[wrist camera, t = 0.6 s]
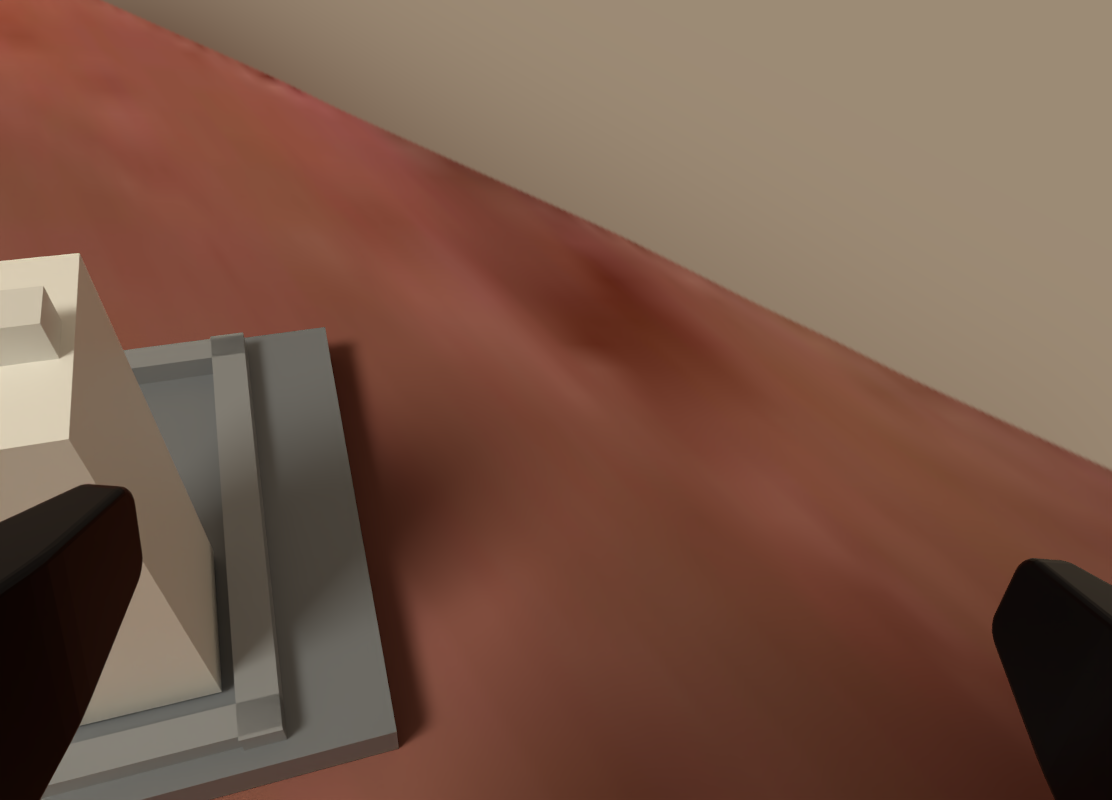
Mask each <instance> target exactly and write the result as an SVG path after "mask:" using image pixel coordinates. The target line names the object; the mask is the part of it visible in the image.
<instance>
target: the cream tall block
mask: <svg viewBox="0 0 1112 800" xmlns="http://www.w3.org/2000/svg"><path fill="white" fill-rule="evenodd" d="M82 484H98V485H110V486H122V487H125V488H127V489H128V490H129V491H130V492H131V493H132V495H133V498H134V501H135V507H136V514H137V520H138V527H139V534H140V541H141V548H142V557H143V559H142V570H141V575H140V578H139V581H138V584H137V586H136V589H135V591H134V594H133V596H132V599H131V601H130V604H129V606H128V609H127V611H126V614H125V616H124V619H123V621H122V624H121V626H120V629H119V631H118V634H117V636H116V639H115V641H114V644H113V646H112V649H111V651H110V654H109V656H108V659H107V661H106V664H105V666H104V669H103V671H102V674H101V676H100V679H99V681H98V684H97V686H96V689H95V691H94V694H93V696H92V699H91V701H90V703H89V705H88V708H87V710H86V712H85V715H84V717H83V719H82V722H81V724H80V726H81V725H85V724H90V723H94V722H98V721H102V720H106V719H110V718H115V717H119V716H123V715H127V714H131V713H135V712H140V711H144V710H148V709H152V708H156V707H160V706H165V705H169V704H173V703H177V702H181V701H186V700H190V699H194V698H198V697H202V696H206V695H211V694H215V693H219V692H222V687H221V670H220V653H219V636H218V620H217V603H216V586H215V570H214V553H213V549H212V547H211V545H210V542H209V540H208V538H207V536H206V534H205V531H204V529H203V527H202V525H201V522H200V520H199V518H198V516H197V514H196V511H195V509H194V507H193V505H192V502H191V500H190V498H189V496H188V494H187V491H186V489H185V487H184V485H183V482H182V480H181V478H180V476H179V473H178V471H177V469H176V467H175V465H174V462H173V460H172V458H171V456H170V453H169V451H168V449H167V447H166V445H165V442H164V440H163V438H162V436H161V433H160V431H159V429H158V427H157V424H156V422H155V420H154V418H153V416H152V413H151V411H150V409H149V407H148V404H147V402H146V400H145V398H144V396H143V393H142V391H141V389H140V387H139V384H138V382H137V380H136V378H135V375H134V373H133V371H132V369H131V367H130V364H129V362H128V360H127V358H126V355H125V353H124V351H123V349H122V347H121V344H120V342H119V340H118V338H117V335H116V333H115V331H114V329H113V326H112V324H111V322H110V320H109V318H108V315H107V313H106V311H105V309H104V306H103V304H102V302H101V300H100V298H99V295H98V293H97V291H96V289H95V286H94V284H93V282H92V280H91V277H90V275H89V273H88V271H87V269H86V266H85V264H84V262H83V260H82V257H81V255H80V253H76V254H66V255H56V256H46V257H36V258H26V259H16V260H7V261H0V522H1V521H3V520H5V519H8V518H10V517H12V516H14V515H16V514H18V513H21V512H23V511H25V510H27V509H29V508H31V507H34V506H36V505H38V504H40V503H42V502H44V501H47V500H49V499H51V498H53V497H55V496H57V495H60V494H62V493H64V492H66V491H68V490H70V489H72V488H75V487H77V486H79V485H82Z"/></svg>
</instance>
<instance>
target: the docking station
mask: <svg viewBox="0 0 1112 800" xmlns="http://www.w3.org/2000/svg"><path fill="white" fill-rule="evenodd" d="M123 351H124V353H125V355H126V358H127V360H128V362H129V364H130V367H131V369H132V371H133V373H134V375H135V378H136V380H137V382H138V384H139V387H140V389H141V391H142V393H143V396H144V398H145V400H146V402H147V404H148V407H149V409H150V411H151V413H152V416H153V418H154V420H155V422H156V424H157V427H158V429H159V431H160V433H161V436H162V438H163V440H164V442H165V445H166V447H167V449H168V451H169V453H170V456H171V458H172V460H173V462H174V465H175V467H176V469H177V471H178V473H179V476H180V478H181V480H182V482H183V485H184V487H185V489H186V491H187V494H188V496H189V498H190V500H191V502H192V505H193V507H194V509H195V511H196V514H197V516H198V518H199V520H200V522H201V525H202V527H203V529H204V531H205V534H206V536H207V538H208V540H209V542H210V545H211V547H212V549H213V553H214V570H215V586H216V603H217V620H218V636H219V653H220V670H221V687H222V692H219V693H215V694H211V695H206V696H202V697H198V698H194V699H190V700H186V701H181V702H177V703H173V704H169V705H165V706H160V707H156V708H152V709H148V710H144V711H140V712H135V713H131V714H127V715H123V716H119V717H115V718H110V719H106V720H102V721H98V722H94V723H90V724H85V725H81V726H79V728H78V730H77V732H76V733H75V735H74V737H73V739H72V741H71V743H70V745H69V747H68V749H67V751H66V753H65V755H64V757H63V758H62V760H61V762H60V764H59V766H58V768H57V770H56V771H55V773H54V775H53V777H52V779H51V781H50V783H49V784H48V786H47V788H46V790H45V792H44V794H43V796H42V797H41V799H40V800H211V799H214V798H218V797H222V796H225V795H229V794H233V793H236V792H240V791H244V790H248V789H251V788H255V787H259V786H262V785H266V784H270V783H273V782H277V781H281V780H284V779H288V778H292V777H295V776H299V775H303V774H306V773H310V772H314V771H318V770H321V769H325V768H329V767H332V766H336V765H340V764H343V763H347V762H351V761H354V760H358V759H362V758H365V757H369V756H373V755H376V754H380V753H384V752H387V751H391V750H395V749H399V746H398V738H397V730H396V724H395V719H394V713H393V708H392V702H391V696H390V691H389V685H388V679H387V674H386V668H385V663H384V657H383V651H382V646H381V640H380V634H379V629H378V623H377V618H376V612H375V606H374V601H373V595H372V589H371V584H370V578H369V573H368V567H367V561H366V556H365V550H364V544H363V539H362V533H361V528H360V522H359V516H358V511H357V505H356V499H355V494H354V488H353V483H352V477H351V471H350V466H349V460H348V454H347V449H346V443H345V438H344V432H343V426H342V421H341V415H340V409H339V404H338V398H337V393H336V387H335V381H334V376H333V370H332V364H331V359H330V353H329V348H328V342H327V336H326V331H325V327H323V328H316V329H308V330H300V331H293V332H285V333H278V334H270V335H263V336H255V337H248V338H244V335H243V333H235V334H228V335H220V336H212V337H211V339H207V340H199V341H192V342H184V343H176V344H169V345H161V346H153V347H146V348H138V349H131V350H123Z"/></svg>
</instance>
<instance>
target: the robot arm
mask: <svg viewBox="0 0 1112 800" xmlns="http://www.w3.org/2000/svg"><path fill="white" fill-rule="evenodd" d="M142 559H143V557H142V548H141V541H140V534H139V527H138V520H137V514H136V507H135V501H134V498H133V495H132V493H131V492H130V491H129V490H128V489H127V488H125V487H122V486H110V485H98V484H82V485H79V486H77V487H75V488H72V489H70V490H68V491H66V492H64V493H62V494H60V495H57V496H55V497H53V498H51V499H49V500H47V501H44V502H42V503H40V504H38V505H36V506H34V507H31V508H29V509H27V510H25V511H23V512H21V513H18V514H16V515H14V516H12V517H10V518H8V519H5V520H3V521H1V522H0V800H40V799H41V797H42V796H43V794H44V792H45V790H46V788H47V786H48V784H49V783H50V781H51V779H52V777H53V775H54V773H55V771H56V770H57V768H58V766H59V764H60V762H61V760H62V758H63V757H64V755H65V753H66V751H67V749H68V747H69V745H70V743H71V741H72V739H73V737H74V735H75V733H76V732H77V730H78V728H79V726H80V724H81V722H82V719H83V717H84V715H85V712H86V710H87V708H88V705H89V703H90V701H91V699H92V696H93V694H94V691H95V689H96V686H97V684H98V681H99V679H100V676H101V674H102V671H103V669H104V666H105V664H106V661H107V659H108V656H109V654H110V651H111V649H112V646H113V644H114V641H115V639H116V636H117V634H118V631H119V629H120V626H121V624H122V621H123V619H124V616H125V614H126V611H127V609H128V606H129V604H130V601H131V599H132V596H133V594H134V591H135V589H136V586H137V584H138V581H139V578H140V575H141V570H142ZM992 633H993V639H994V643H995V646H996V649H997V651H998V654H999V657H1000V659H1001V662H1002V665H1003V667H1004V670H1005V673H1006V676H1007V678H1008V681H1009V684H1010V686H1011V689H1012V692H1013V695H1014V697H1015V700H1016V703H1017V705H1018V708H1019V711H1020V713H1021V716H1022V719H1023V722H1024V724H1025V727H1026V730H1027V732H1028V735H1029V738H1030V740H1031V743H1032V746H1033V749H1034V751H1035V754H1036V756H1037V759H1038V761H1039V764H1040V766H1041V769H1042V771H1043V774H1044V776H1045V779H1046V781H1047V783H1048V785H1049V788H1050V790H1051V792H1052V794H1053V796H1054V799H1055V800H1112V585H1110V584H1108V583H1106V582H1105V581H1103V580H1101V579H1099V578H1097V577H1095V576H1094V575H1092V574H1090V573H1088V572H1086V571H1085V570H1083V569H1081V568H1079V567H1077V566H1076V565H1074V564H1072V563H1069V562H1066V561H1062V560H1049V559H1036V558H1031V559H1028V560H1025V561H1023V562H1022V563H1021V564H1020V565H1019V566H1018V567H1017V569H1016V571H1015V573H1014V575H1013V577H1012V579H1011V581H1010V583H1009V585H1008V588H1007V590H1006V592H1005V594H1004V596H1003V598H1002V600H1001V602H1000V604H999V606H998V609H997V611H996V613H995V615H994V618H993V623H992Z"/></svg>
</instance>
